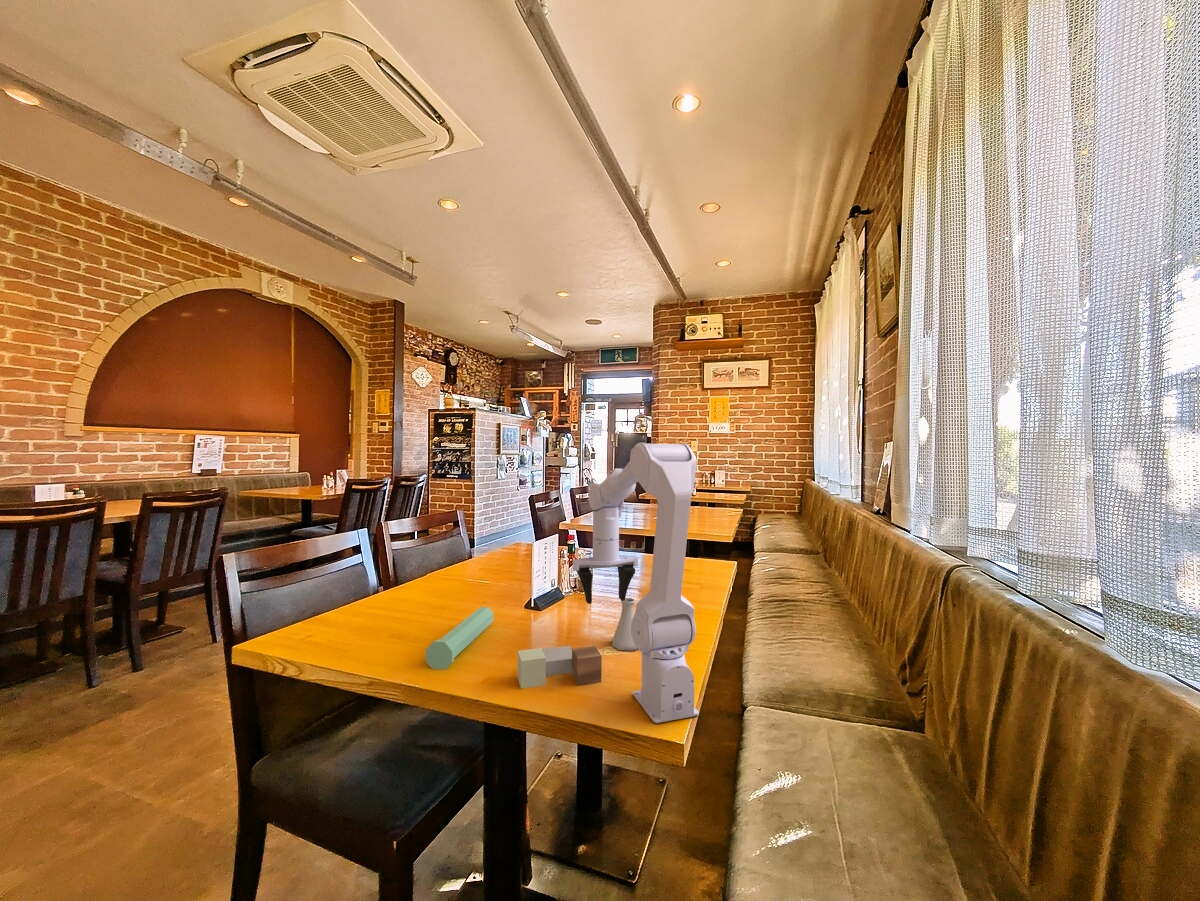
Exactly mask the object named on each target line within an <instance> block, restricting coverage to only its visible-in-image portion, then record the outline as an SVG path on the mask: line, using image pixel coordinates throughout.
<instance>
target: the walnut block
mask: <svg viewBox="0 0 1200 901" xmlns="http://www.w3.org/2000/svg"><path fill="white" fill-rule="evenodd" d="M571 649H572V673H571V676H572V678H573V680H574V681H575V684H576V685H577V687H579V686H580V687H581V686H587V685H592V684H593V685H594V684H601V683H602V666H603V665H602V660H603V659H602V654H601V653H600V652H599V650H598V649H597V647H596V646H595V645H591V646H583V647H575V648H571Z"/></svg>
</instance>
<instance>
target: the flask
mask: <svg viewBox="0 0 1200 901" xmlns="http://www.w3.org/2000/svg"><path fill="white" fill-rule="evenodd" d="M620 602H621V604H622V605H621V612H620V617H619V620H618V624H617V627H616V629H615V632H614V635H613V638H612V641H611V646H612V647H614V648H615V649H617V650H619V651H632V652H633V651H637V650H638V648H637V647H636V646H635V644H634V642H633V639H632V634H631V623H632V619H633V617H634V615H635V608H634V606H635V603H636V599H635V598H633V597H625V601H622V600H621V599H620Z"/></svg>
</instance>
